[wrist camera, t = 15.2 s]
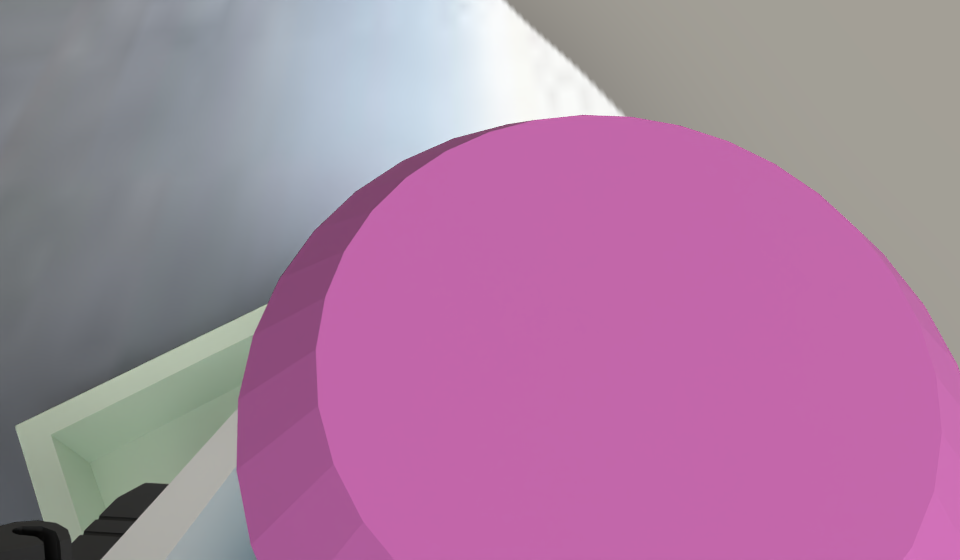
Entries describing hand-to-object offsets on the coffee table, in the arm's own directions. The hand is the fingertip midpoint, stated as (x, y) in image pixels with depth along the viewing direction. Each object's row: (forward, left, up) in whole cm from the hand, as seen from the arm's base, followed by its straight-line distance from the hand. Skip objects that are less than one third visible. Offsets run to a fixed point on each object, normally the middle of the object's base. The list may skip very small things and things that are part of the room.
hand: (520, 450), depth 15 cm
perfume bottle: (+2, -3, -4) cm, 5 cm away
